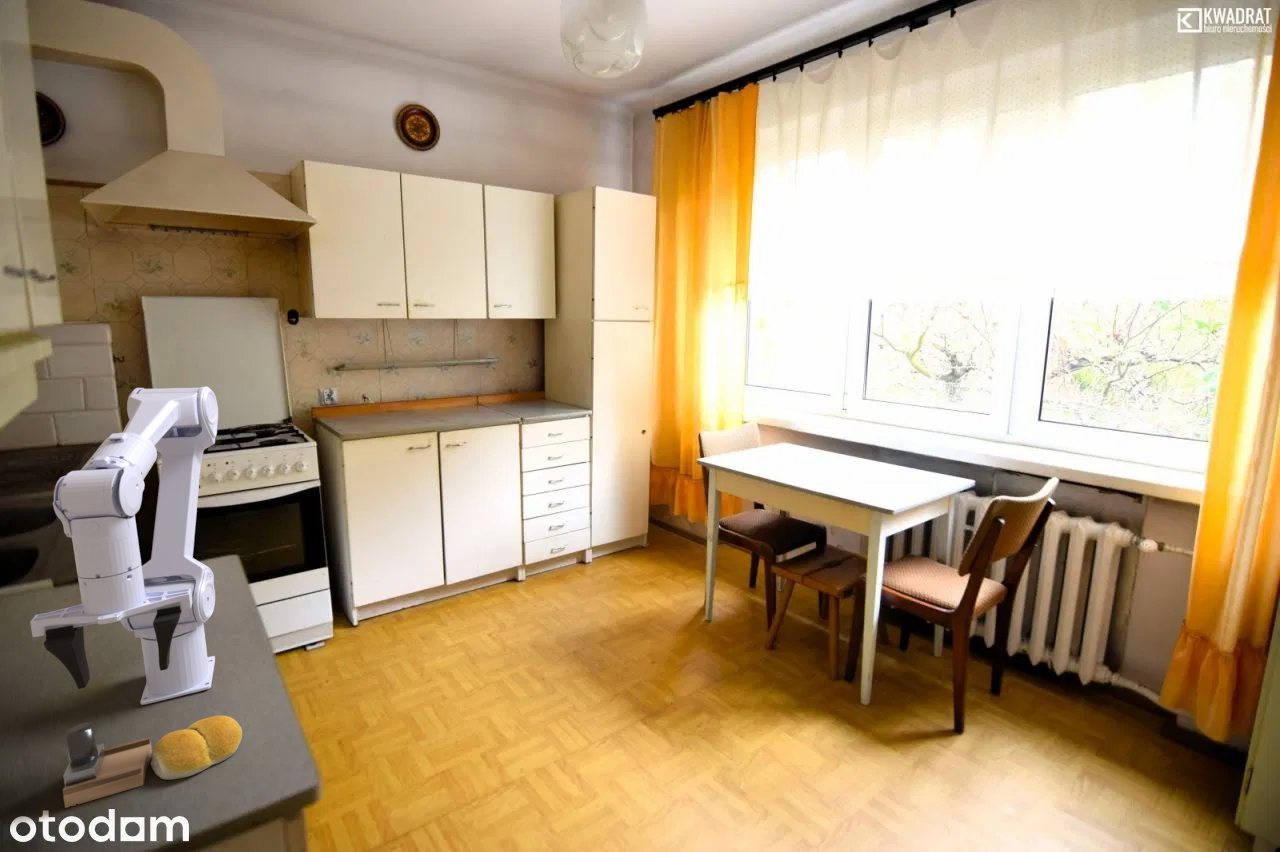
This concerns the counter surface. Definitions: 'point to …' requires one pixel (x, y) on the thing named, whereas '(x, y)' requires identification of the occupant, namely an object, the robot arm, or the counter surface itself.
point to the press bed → (114, 773)
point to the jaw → (83, 754)
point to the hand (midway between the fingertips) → (125, 674)
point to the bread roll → (196, 747)
